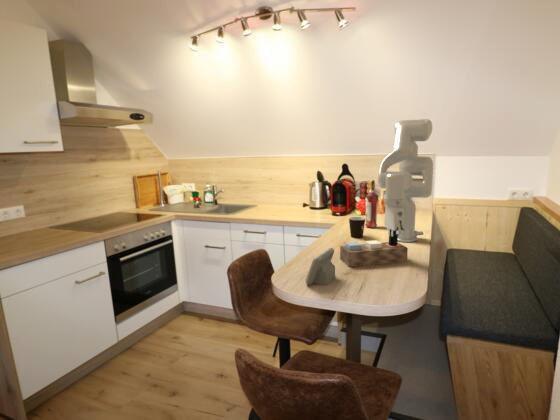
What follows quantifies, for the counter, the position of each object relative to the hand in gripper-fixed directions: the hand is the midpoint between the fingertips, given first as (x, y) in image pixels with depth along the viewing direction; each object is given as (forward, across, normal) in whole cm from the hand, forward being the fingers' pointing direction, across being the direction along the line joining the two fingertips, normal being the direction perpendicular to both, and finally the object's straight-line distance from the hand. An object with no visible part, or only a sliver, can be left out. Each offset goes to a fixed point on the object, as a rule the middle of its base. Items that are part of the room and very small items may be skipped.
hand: (393, 244), depth 155 cm
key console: (+6, 0, +9) cm, 11 cm away
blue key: (+2, 0, +18) cm, 18 cm away
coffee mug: (+6, +40, -1) cm, 41 cm away
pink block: (+4, 0, 0) cm, 4 cm away
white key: (+2, 0, +9) cm, 9 cm away
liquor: (+6, +58, -16) cm, 61 cm away
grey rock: (+7, -16, +37) cm, 41 cm away
